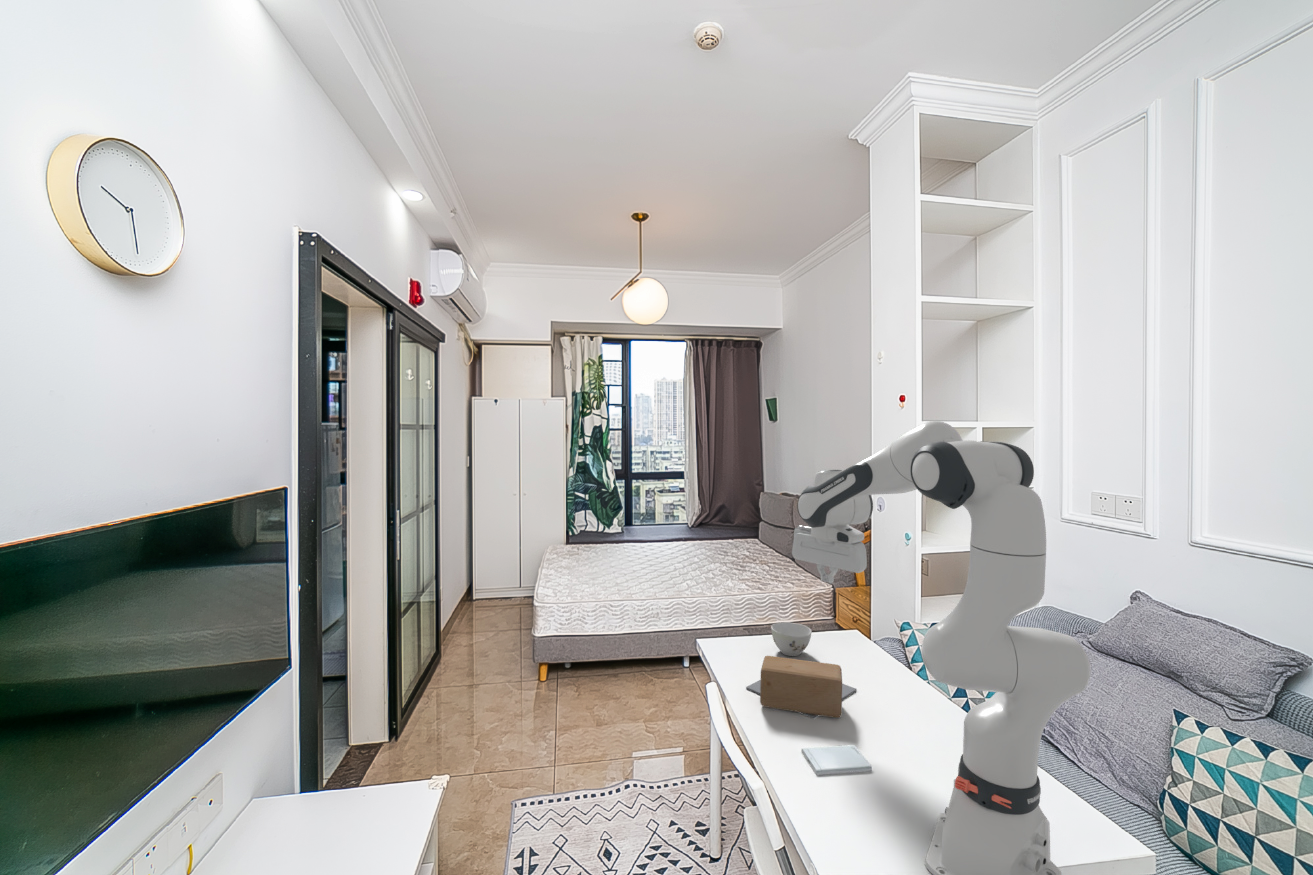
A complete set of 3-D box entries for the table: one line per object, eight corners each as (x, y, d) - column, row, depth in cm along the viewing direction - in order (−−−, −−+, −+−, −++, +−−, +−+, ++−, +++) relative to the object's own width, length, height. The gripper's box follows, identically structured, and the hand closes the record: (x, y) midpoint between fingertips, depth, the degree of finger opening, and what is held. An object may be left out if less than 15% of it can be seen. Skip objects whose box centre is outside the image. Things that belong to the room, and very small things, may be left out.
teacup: (816, 661, 174) (816, 635, 174) (776, 661, 174) (776, 635, 174) (802, 642, 189) (802, 618, 189) (765, 641, 189) (765, 618, 189)
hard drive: (853, 743, 128) (801, 747, 126) (872, 765, 120) (816, 769, 118) (853, 751, 128) (801, 754, 126) (871, 773, 120) (816, 777, 118)
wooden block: (842, 680, 139) (760, 669, 144) (841, 720, 139) (759, 707, 145) (841, 663, 148) (764, 653, 154) (840, 701, 148) (763, 689, 154)
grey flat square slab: (813, 718, 140) (813, 716, 140) (746, 688, 156) (746, 686, 156) (856, 690, 155) (856, 688, 155) (791, 665, 171) (791, 664, 171)
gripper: (788, 525, 154) (786, 575, 155) (858, 538, 139) (856, 593, 140) (800, 523, 159) (799, 571, 159) (870, 535, 144) (868, 588, 144)
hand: (827, 582), depth 149 cm, fingers closed
